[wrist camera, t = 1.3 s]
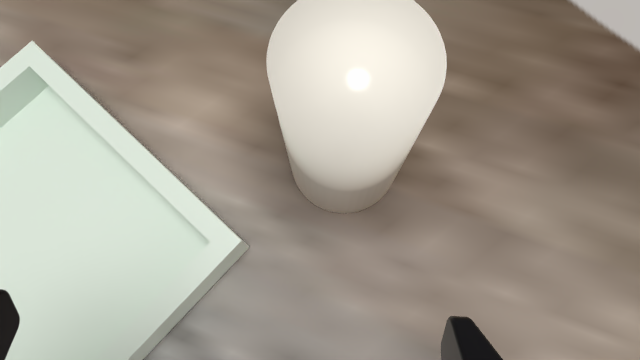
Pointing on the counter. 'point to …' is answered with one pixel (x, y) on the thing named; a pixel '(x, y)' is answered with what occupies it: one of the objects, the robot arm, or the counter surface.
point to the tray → (93, 225)
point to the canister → (353, 93)
